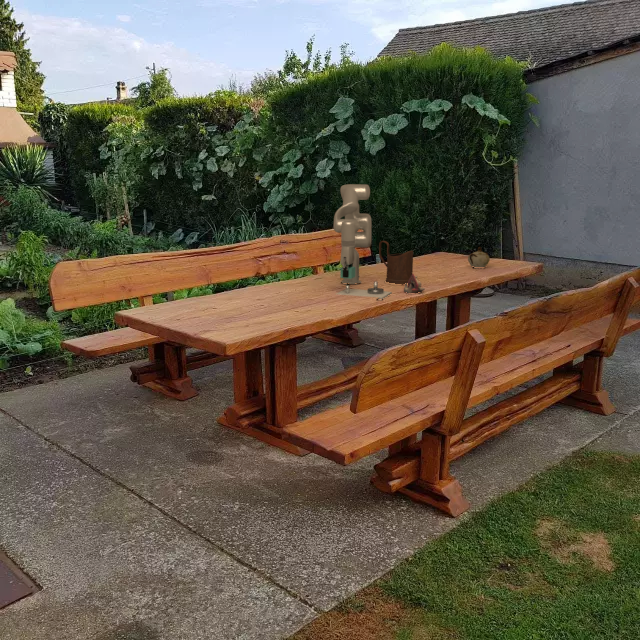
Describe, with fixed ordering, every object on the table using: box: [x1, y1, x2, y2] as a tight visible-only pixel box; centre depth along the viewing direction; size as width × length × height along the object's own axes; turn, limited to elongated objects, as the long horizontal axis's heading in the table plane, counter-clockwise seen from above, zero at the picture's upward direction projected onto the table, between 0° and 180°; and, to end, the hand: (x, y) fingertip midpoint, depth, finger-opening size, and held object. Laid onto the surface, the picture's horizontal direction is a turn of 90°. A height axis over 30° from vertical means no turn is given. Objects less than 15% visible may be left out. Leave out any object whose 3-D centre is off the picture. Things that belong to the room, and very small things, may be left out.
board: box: [335, 288, 393, 300], centre depth 375 cm, size 19×27×2 cm
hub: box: [366, 280, 385, 294], centre depth 375 cm, size 9×9×6 cm
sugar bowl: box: [467, 246, 491, 268], centre depth 478 cm, size 20×15×15 cm
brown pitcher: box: [378, 240, 414, 284], centre depth 417 cm, size 18×24×25 cm
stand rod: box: [345, 284, 350, 294], centre depth 374 cm, size 2×2×4 cm
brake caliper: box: [403, 273, 426, 294], centre depth 383 cm, size 11×11×12 cm
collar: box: [339, 266, 355, 279], centre depth 372 cm, size 6×6×6 cm
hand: (347, 275), depth 373 cm, fingers closed on collar, 6 cm apart
